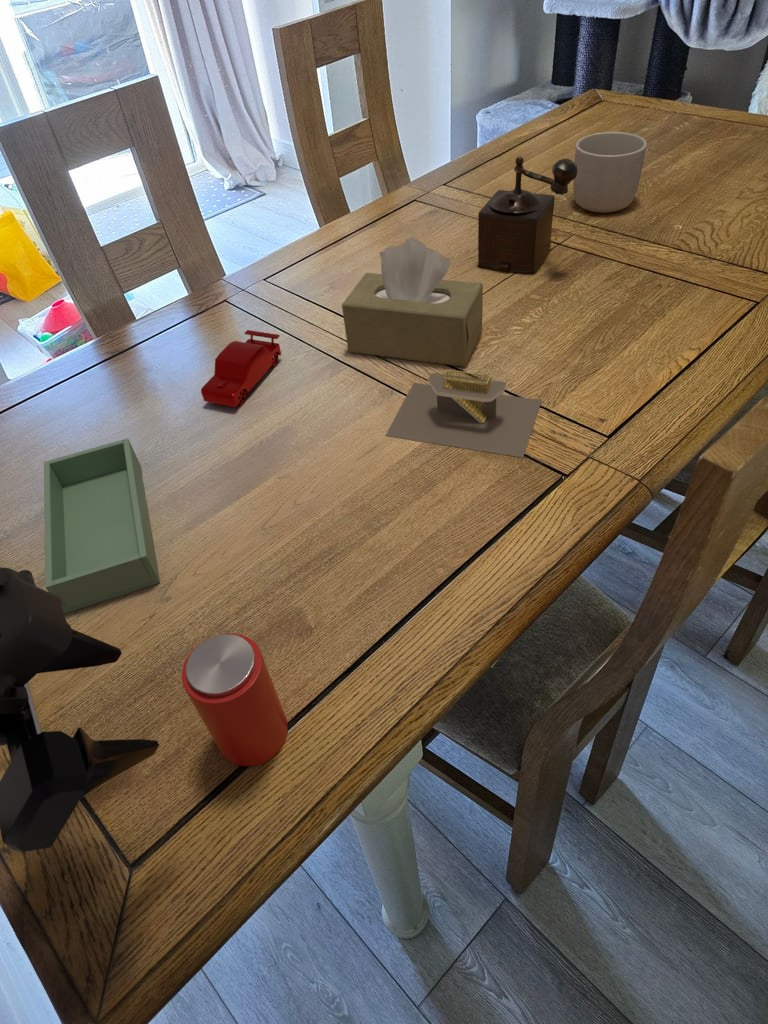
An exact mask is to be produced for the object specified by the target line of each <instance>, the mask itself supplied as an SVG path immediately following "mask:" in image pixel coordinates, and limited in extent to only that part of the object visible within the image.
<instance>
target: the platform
mask: <svg viewBox="0 0 768 1024" xmlns="http://www.w3.org/2000/svg"><path fill="white" fill-rule="evenodd" d="M491 377H492V376H491V374H484V373H477V372H469V371H462V370H454V369H445V373H438V372H431V373H430V374H429V376H428V378H427V381H428V382H427V383H428V384H425V383H419V382H413V383H412V385H411V388H410V389H409V391H408V393H407V395H406V396H405V398H404V400H403V401H402V404H401V406H400V407H399V410H398V411H397V413H396V415H395V417H394V419H393V421H392V422H391V425H390V426H389V428H388V430H387V431H386V434H385V436H387V437H392V438H399V439H404V440H411V441H416V442H422V443H430V444H436V445H442V446H447V447H453V448H462V449H467V450H472V451H480V452H485V453H491V454H497V455H504V456H509V457H515V458H521V459H523V458H524V456H525V453H526V450H527V447H528V445H529V441H530V438H531V435H532V432H533V429H534V426H535V422H536V420H537V416H538V413H539V411H540V408H541V405H542V401H543V400H542V399H536V398H529V397H522V396H514V395H506V394H504V393H505V390H506V388H507V383H506V382H505V381H499V380H493V379H491Z"/></svg>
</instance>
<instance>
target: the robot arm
mask: <svg viewBox="0 0 768 1024" xmlns="http://www.w3.org/2000/svg"><path fill="white" fill-rule="evenodd" d="M61 606H62V601H61V599H60V597H59V596H57V595H54V594H52V593H50V592H48V591H47V590H45V589H43V588H40V587H38V586H37V585H36V582H35V579H34V576H33V573H32V572H31V570H28V569H22V570H20V571H17V570H15V569H13V568H10V567H0V747H1V746H3V747H5V746H7V750H8V755H9V758H10V762H9V764H8V766H7V767H6V770H5V771H4V773H3V775H2V777H1V779H0V836H1V841H2V844H4V846H5V845H6V847H8V848H9V849H10V850H12V851H16V852H20V853H25V852H32V851H37V850H44V849H49V848H52V847H53V845H54V843H55V841H56V840H57V838H58V837H59V835H60V833H61V832H62V830H63V829H64V827H65V825H66V824H67V822H68V820H69V819H70V817H71V815H72V813H73V812H74V810H75V809H76V807H77V806H78V804H79V802H80V800H81V799H82V798H84V797H85V796H86V795H88V794H89V793H91V792H92V791H94V790H95V789H97V788H98V787H100V786H101V785H103V784H105V783H106V782H108V781H110V780H112V779H114V778H115V777H117V776H119V775H121V774H122V773H124V772H126V771H128V770H130V769H131V768H133V767H135V766H136V765H138V764H140V763H141V762H143V761H145V760H147V759H149V758H150V757H152V756H153V755H155V754H156V751H158V748H159V747H160V744H159V742H158V740H156V739H155V740H154V739H153V740H152V739H144V738H133V739H131V738H130V739H102V740H101V739H98V740H95V739H92V738H91V737H90V735H89V734H88V733H86V732H85V730H84V729H83V728H81V727H78V728H77V729H76V730H75V732H74V735H72V736H71V735H68V734H67V733H65V732H64V731H62V730H51V731H49V730H48V731H42V728H41V724H40V721H39V718H38V714H37V710H36V706H35V702H34V699H33V696H32V691H31V688H30V684H29V682H30V681H31V680H32V679H34V677H35V676H36V675H38V674H43V673H44V674H45V673H53V672H60V671H61V672H62V671H69V670H77V669H85V668H93V667H99V666H103V665H109V664H113V663H117V662H118V661H119V659H120V657H121V656H122V653H123V652H122V650H121V649H120V648H119V647H117V646H115V645H113V644H110V643H108V642H105V641H102V640H100V639H97V638H95V637H92V636H90V635H88V634H85V633H83V632H80V631H78V630H76V629H74V628H72V627H71V625H70V624H69V623H68V622H67V619H66V616H65V614H64V613H63V610H62V607H61Z"/></svg>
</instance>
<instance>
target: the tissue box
mask: <svg viewBox="0 0 768 1024" xmlns="http://www.w3.org/2000/svg"><path fill="white" fill-rule="evenodd" d="M379 256H380V258H381V259H380V264H381V265H380V266H381V267H380V268H381V273H375V272H374V273H373V272H366V273H364V275H363V276H362V277H361V278H360V280H359V281H358V283H357V284H356V285H355V286H354V288H353V289H352V291H351V292H350V293H349V294H348V296H347V297H346V299H344V301H343V302H342V304H341V309H342V316H343V323H344V324H343V325H344V331H345V336H346V337H345V338H346V344H347V351H348V352H349V353H353V354H361V355H370V356H377V357H378V356H379V357H385V358H393V359H399V360H408V361H416V362H424V363H431V364H438V365H439V364H440V365H447V366H455V367H461V368H463V367H464V368H465V367H466V366H467V364H468V362H469V359H470V357H471V356H472V353H473V351H474V349H475V347H476V345H477V344H478V341H479V339H480V338H481V337H480V336H481V335H482V332H483V310H484V309H483V308H484V307H483V304H484V303H483V301H484V300H483V299H484V298H483V296H484V295H483V294H484V293H483V292H484V285H483V283H482V282H475V281H474V282H472V281H462V280H451V279H443V278H445V276H446V275H447V272H448V270H449V267H450V265H451V262H452V258H450V257H446V256H445V255H444V254H443V253H442V252H440V251H438V250H436V249H433V248H430V247H428V246H427V245H426V244H425V243H424V242H422V241H421V240H419V239H417V238H406V239H405V241H404V242H402V243H400V244H398V245H390V246H387V247H385V248H384V250H383V251H380V252H379Z"/></svg>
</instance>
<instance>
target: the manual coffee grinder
mask: <svg viewBox="0 0 768 1024" xmlns="http://www.w3.org/2000/svg"><path fill="white" fill-rule="evenodd" d="M514 162H515V166H514V168H513V171H514V172H515V184H514V189H511V190H504V189H498V190H497V191H495V193H494V194H493V196H492V197H491V198H490V199H489V200H488V201H487V202H486V203H485V204H484V206H483V207H482V208H481V209H480V210H479V212H478V216H477V219H478V222H477V223H478V226H477V228H478V230H477V231H478V232H477V234H478V236H477V240H478V241H477V246H478V247H477V252H478V253H477V254H478V255H477V257H478V259H477V261H478V262H477V267H478V268H482V269H489V270H495V271H500V272H508V273H509V272H513V273H521V274H523V273H524V274H526V273H527V274H529V273H530V274H534V273H536V272H537V271H538V270H539V269H540V268H541V267H542V265H543V263H544V262H545V261H546V259H547V257H548V255H549V252H550V249H551V247H552V229H553V220H554V211H555V210H554V208H555V198H556V195H560V196H561V195H562V196H563V195H565V194H568V191H569V187H568V186H569V184H570V183H571V182H572V181H573V179H575V178H576V175H577V165H576V164H575V163H574V162H575V161H573V160H572V159H569V158H561V159H558V160H557V161H556V162H555V163H554V165H553V166H552V170H551V171H552V175H553V178H554V179H553V178H552V177H549V176H547V175H542V174H540V173H536V172H533V171H530V170H527V169H525V168H524V162H525V160H524V158H523V157H522V156H517V157H516V158H515V161H514ZM522 175H523V176H525V177H527V178H530V179H532V180H536V181H539V182H542V183H546V184H548V185H550V190H551V192H553V193H554V194H555V195H554V194H547V193H538V192H537V193H536V192H531V191H529V190H525V189H522Z"/></svg>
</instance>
